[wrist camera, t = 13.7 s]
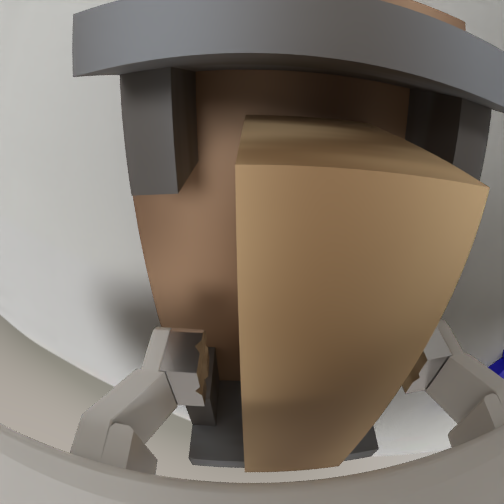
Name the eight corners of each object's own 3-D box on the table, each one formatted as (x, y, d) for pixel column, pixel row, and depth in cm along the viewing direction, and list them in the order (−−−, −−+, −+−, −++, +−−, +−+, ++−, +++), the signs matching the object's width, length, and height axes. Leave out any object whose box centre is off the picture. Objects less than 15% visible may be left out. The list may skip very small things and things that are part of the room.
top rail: (367, 123, 9) (489, 187, 4) (321, 363, 15) (338, 465, 10) (245, 115, 9) (235, 164, 4) (246, 365, 15) (245, 471, 10)
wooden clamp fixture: (444, 24, 7) (563, 21, 2) (359, 384, 19) (377, 464, 13) (137, -2, 7) (32, -53, 2) (188, 387, 19) (177, 472, 13)
